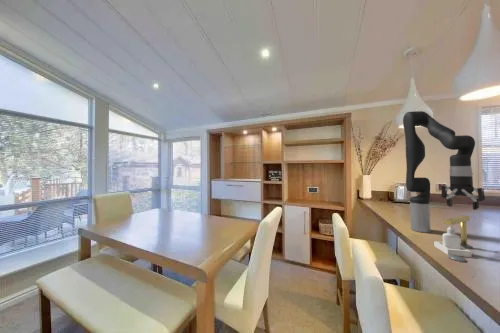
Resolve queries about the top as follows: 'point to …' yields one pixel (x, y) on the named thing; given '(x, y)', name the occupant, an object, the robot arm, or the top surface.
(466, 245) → the key plate
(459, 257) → the grey round disc
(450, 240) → the eye dropper bottle
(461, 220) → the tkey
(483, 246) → the top surface
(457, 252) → the white rectangular frame
